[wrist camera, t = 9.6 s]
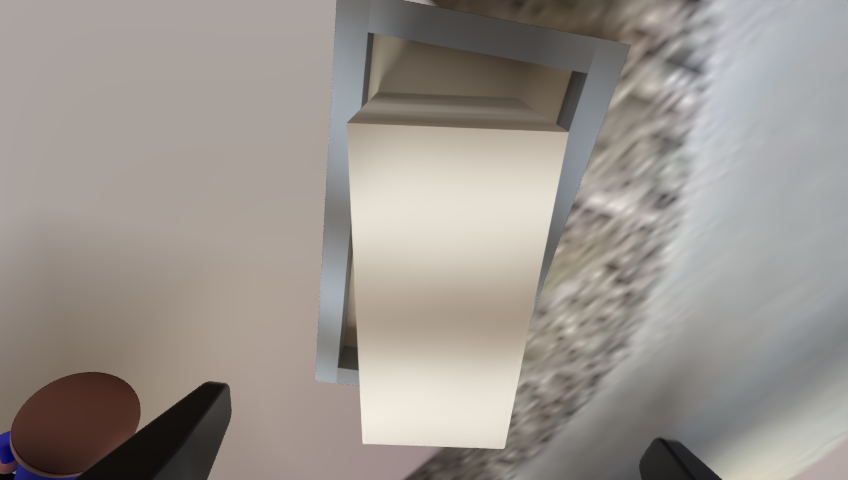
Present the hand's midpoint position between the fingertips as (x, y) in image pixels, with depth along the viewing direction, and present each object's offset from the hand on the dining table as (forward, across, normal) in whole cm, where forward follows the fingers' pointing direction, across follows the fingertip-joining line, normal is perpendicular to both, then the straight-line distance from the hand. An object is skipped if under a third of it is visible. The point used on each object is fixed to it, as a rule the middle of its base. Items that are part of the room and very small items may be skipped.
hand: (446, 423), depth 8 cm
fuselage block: (+9, 0, 0) cm, 9 cm away
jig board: (+10, 0, 0) cm, 10 cm away
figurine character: (+11, +19, +18) cm, 28 cm away
